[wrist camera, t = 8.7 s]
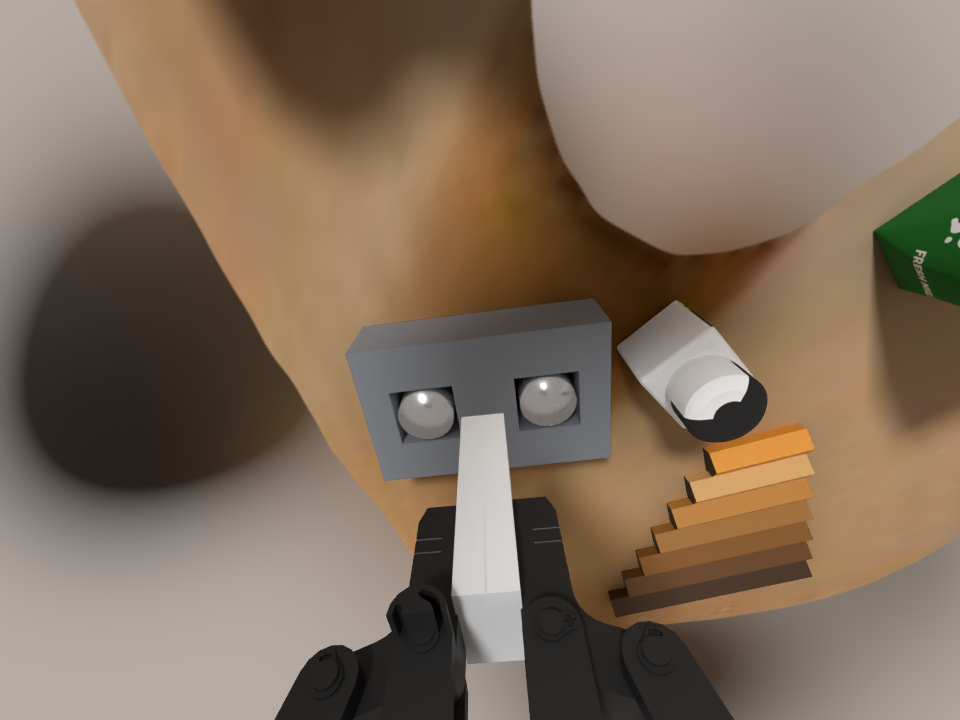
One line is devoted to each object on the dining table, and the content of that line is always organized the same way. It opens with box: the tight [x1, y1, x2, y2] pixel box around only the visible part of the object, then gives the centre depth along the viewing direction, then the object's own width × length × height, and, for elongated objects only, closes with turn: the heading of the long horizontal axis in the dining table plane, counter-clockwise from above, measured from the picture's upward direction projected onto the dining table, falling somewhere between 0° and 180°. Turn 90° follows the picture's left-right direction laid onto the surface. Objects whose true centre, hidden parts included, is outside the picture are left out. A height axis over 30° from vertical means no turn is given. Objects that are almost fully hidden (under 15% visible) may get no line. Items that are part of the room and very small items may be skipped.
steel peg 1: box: [398, 386, 455, 439], centre depth 40 cm, size 5×5×5 cm
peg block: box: [345, 298, 612, 481], centre depth 40 cm, size 14×22×6 cm, turn 98°
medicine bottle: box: [617, 300, 767, 442], centre depth 36 cm, size 7×7×12 cm
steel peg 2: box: [516, 373, 577, 426], centre depth 39 cm, size 5×5×5 cm
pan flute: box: [608, 424, 815, 617], centre depth 51 cm, size 25×3×25 cm
